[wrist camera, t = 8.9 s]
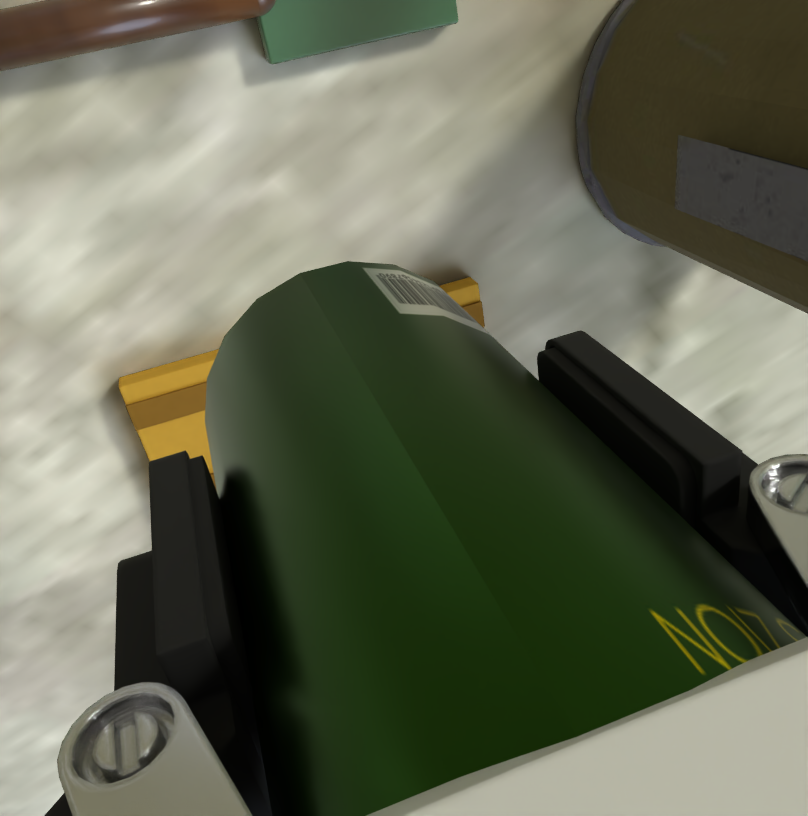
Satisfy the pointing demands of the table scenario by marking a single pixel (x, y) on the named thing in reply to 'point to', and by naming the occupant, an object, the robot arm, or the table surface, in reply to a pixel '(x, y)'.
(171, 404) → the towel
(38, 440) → the table surface
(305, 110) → the table surface
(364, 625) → the beer can
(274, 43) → the spatula
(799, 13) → the canister
